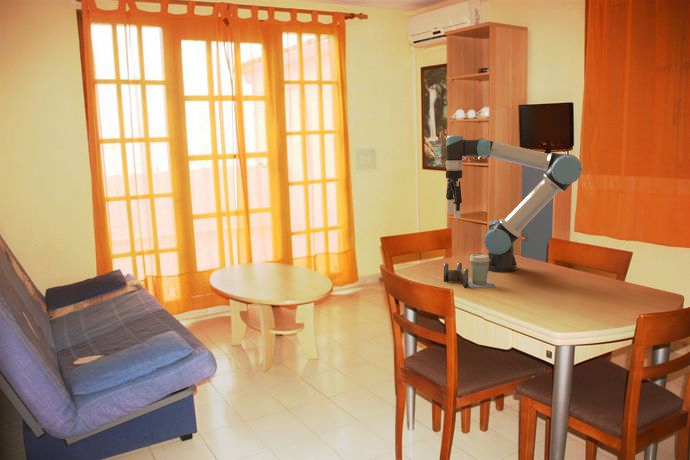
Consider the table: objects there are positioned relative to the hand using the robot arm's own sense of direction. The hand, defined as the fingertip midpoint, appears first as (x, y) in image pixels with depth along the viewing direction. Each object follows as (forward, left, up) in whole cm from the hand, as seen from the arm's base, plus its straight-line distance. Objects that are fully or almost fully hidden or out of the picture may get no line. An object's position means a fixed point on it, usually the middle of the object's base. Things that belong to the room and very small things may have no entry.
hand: (453, 215), depth 274 cm
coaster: (-6, +23, -27) cm, 36 cm away
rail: (+4, +21, -27) cm, 35 cm away
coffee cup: (-6, +23, -26) cm, 35 cm away
